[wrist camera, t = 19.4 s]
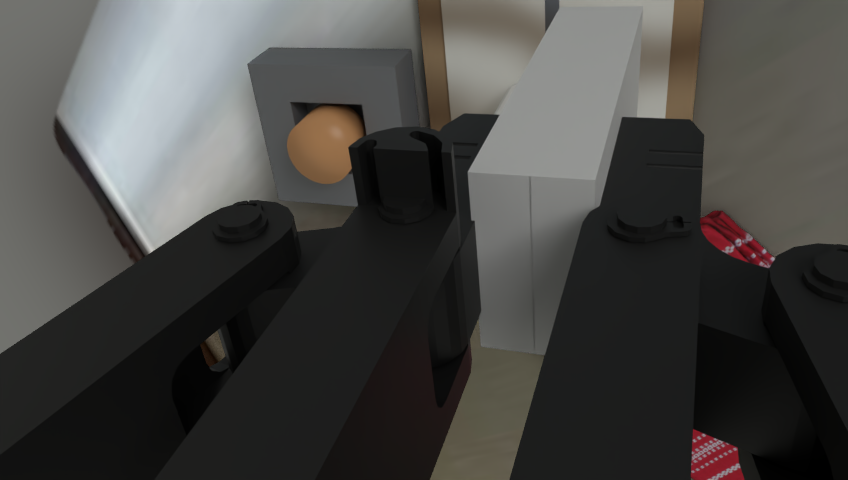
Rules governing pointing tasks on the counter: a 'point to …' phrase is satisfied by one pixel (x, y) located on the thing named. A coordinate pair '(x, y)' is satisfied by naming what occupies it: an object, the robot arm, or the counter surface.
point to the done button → (325, 142)
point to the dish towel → (710, 456)
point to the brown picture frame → (521, 35)
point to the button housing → (328, 83)
